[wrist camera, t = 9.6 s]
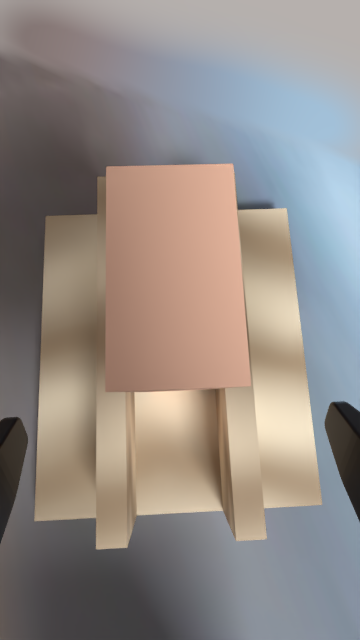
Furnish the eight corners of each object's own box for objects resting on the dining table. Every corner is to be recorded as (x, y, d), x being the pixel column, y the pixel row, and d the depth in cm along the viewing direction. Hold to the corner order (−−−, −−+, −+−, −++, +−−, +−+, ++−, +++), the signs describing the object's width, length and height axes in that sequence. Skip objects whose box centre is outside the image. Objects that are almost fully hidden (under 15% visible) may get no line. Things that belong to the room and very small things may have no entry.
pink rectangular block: (199, 389, 18) (251, 386, 6) (149, 392, 18) (105, 392, 6) (195, 306, 19) (233, 164, 7) (147, 307, 19) (105, 166, 7)
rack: (312, 497, 18) (360, 533, 13) (43, 512, 18) (-2, 555, 13) (280, 218, 21) (310, 170, 17) (52, 225, 21) (18, 178, 16)
